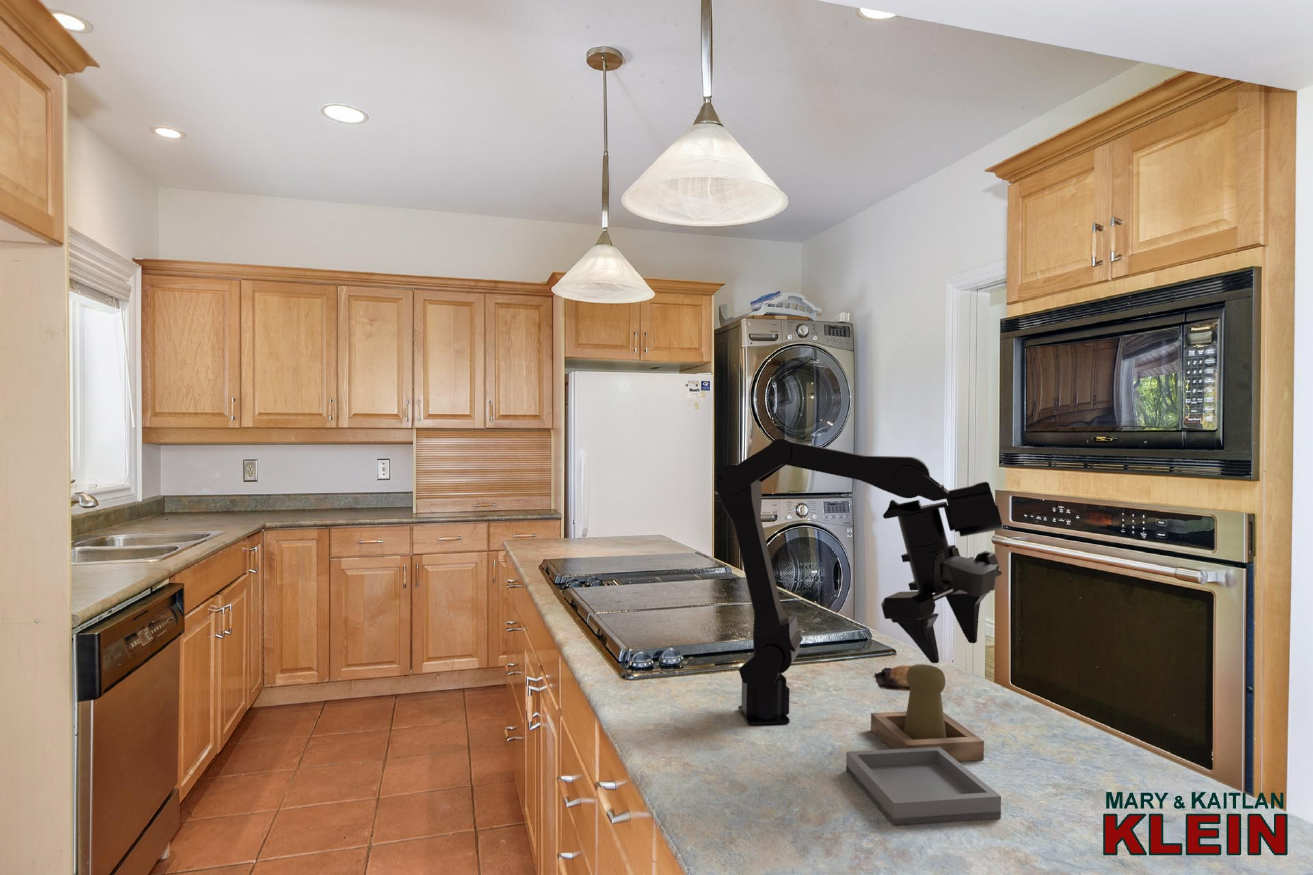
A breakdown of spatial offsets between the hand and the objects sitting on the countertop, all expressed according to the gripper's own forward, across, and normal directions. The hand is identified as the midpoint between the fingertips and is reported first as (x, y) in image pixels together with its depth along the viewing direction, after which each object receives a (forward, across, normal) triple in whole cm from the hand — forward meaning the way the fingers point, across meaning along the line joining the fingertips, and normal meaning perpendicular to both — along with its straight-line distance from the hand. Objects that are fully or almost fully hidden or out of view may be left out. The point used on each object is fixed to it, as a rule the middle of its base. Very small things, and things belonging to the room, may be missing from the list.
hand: (954, 652), depth 100 cm
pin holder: (+12, -4, +6) cm, 14 cm away
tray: (+12, -17, -3) cm, 21 cm away
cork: (+12, -4, +6) cm, 14 cm away
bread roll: (+12, +15, +23) cm, 30 cm away
